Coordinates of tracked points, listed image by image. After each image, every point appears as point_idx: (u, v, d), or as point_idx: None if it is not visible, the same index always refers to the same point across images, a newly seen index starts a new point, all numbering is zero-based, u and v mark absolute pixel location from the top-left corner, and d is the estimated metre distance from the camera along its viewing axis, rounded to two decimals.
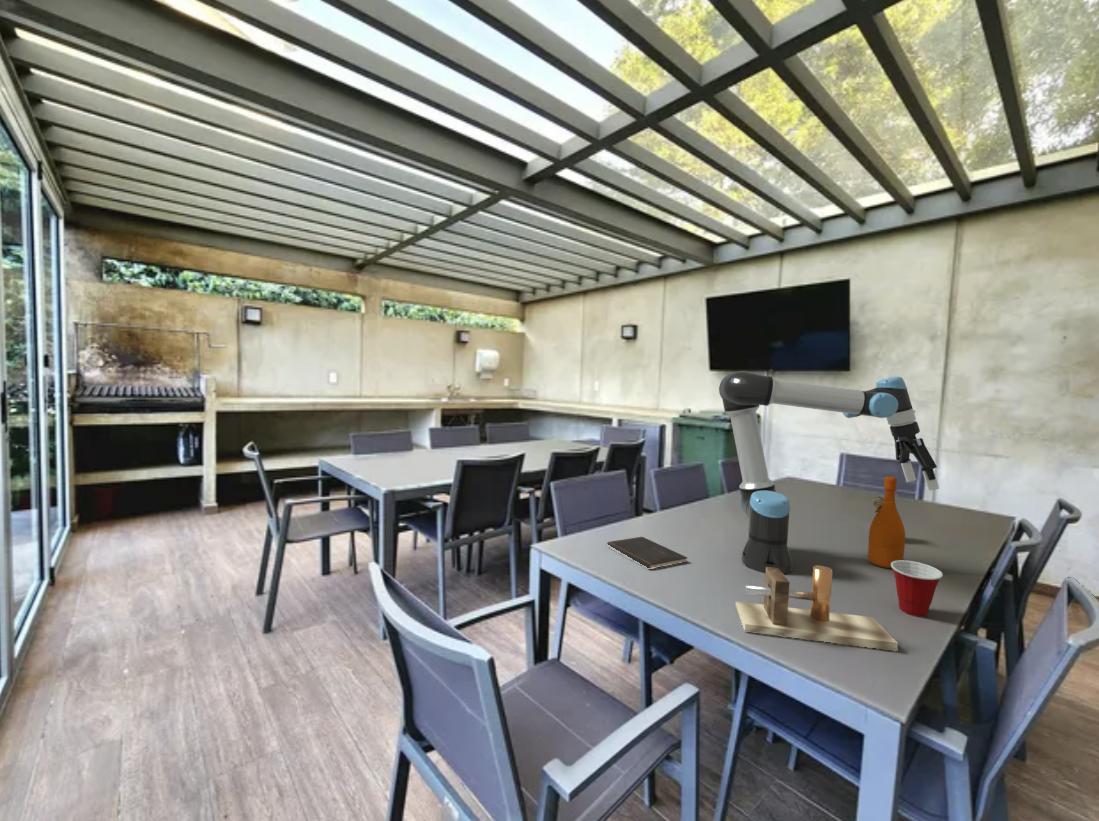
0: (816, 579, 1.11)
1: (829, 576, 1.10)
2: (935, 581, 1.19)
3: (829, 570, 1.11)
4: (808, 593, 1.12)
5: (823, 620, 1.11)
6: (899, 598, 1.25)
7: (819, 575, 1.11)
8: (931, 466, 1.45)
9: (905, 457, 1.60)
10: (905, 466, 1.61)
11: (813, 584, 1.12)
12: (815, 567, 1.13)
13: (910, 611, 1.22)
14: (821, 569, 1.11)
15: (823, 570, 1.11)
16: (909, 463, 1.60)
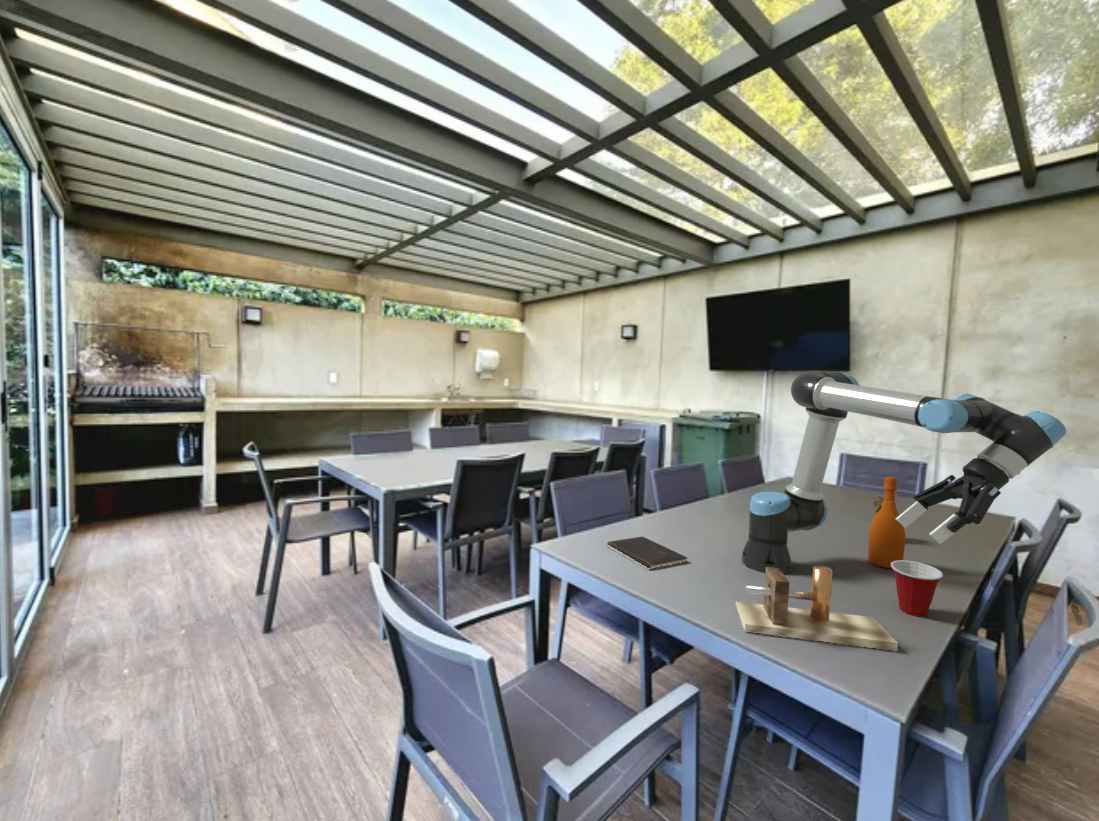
0: (816, 579, 1.11)
1: (829, 576, 1.10)
2: (935, 581, 1.19)
3: (829, 570, 1.11)
4: (808, 593, 1.12)
5: (823, 620, 1.11)
6: (899, 598, 1.25)
7: (819, 575, 1.11)
8: (975, 517, 0.98)
9: (931, 500, 1.13)
10: (917, 507, 1.15)
11: (813, 584, 1.12)
12: (815, 567, 1.13)
13: (910, 611, 1.22)
14: (821, 569, 1.11)
15: (823, 570, 1.11)
16: (924, 509, 1.14)
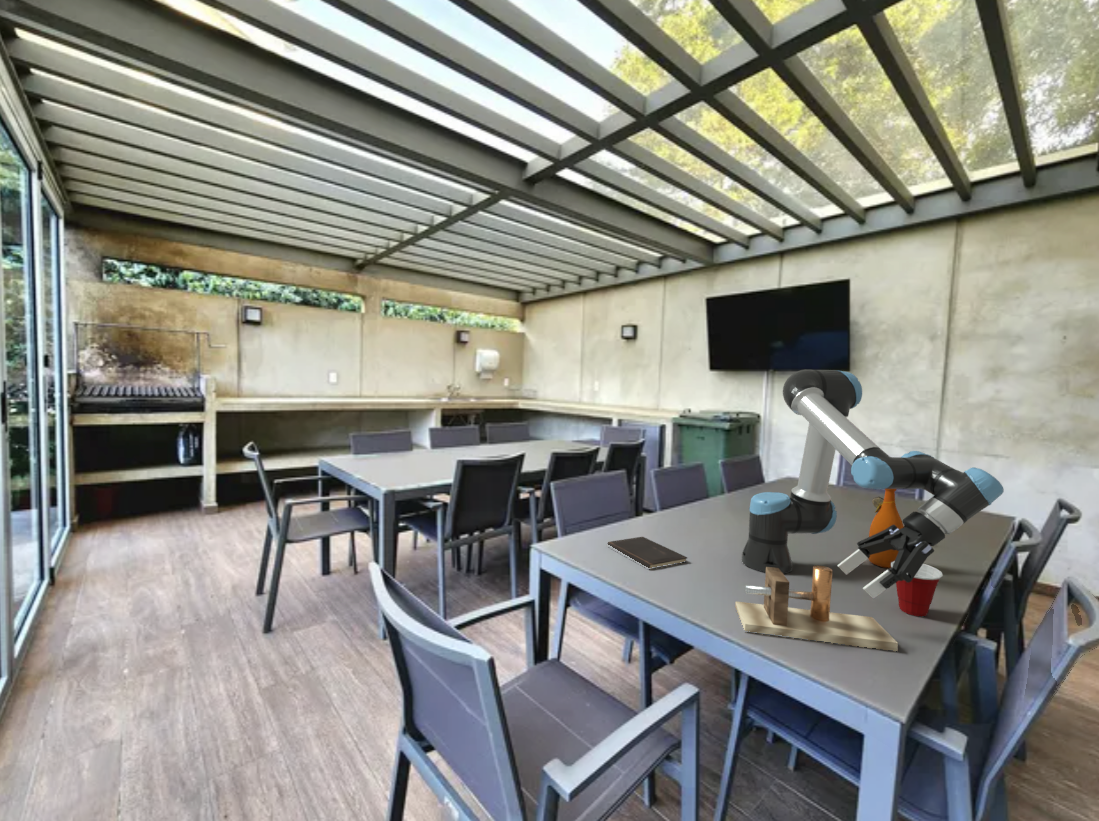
0: (816, 579, 1.11)
1: (829, 576, 1.10)
2: (935, 581, 1.19)
3: (829, 570, 1.11)
4: (808, 593, 1.12)
5: (823, 620, 1.11)
6: (899, 598, 1.25)
7: (819, 575, 1.11)
8: (906, 576, 0.99)
9: (872, 549, 1.14)
10: (858, 555, 1.15)
11: (813, 584, 1.12)
12: (815, 567, 1.13)
13: (910, 611, 1.22)
14: (821, 569, 1.11)
15: (823, 570, 1.11)
16: (865, 557, 1.15)
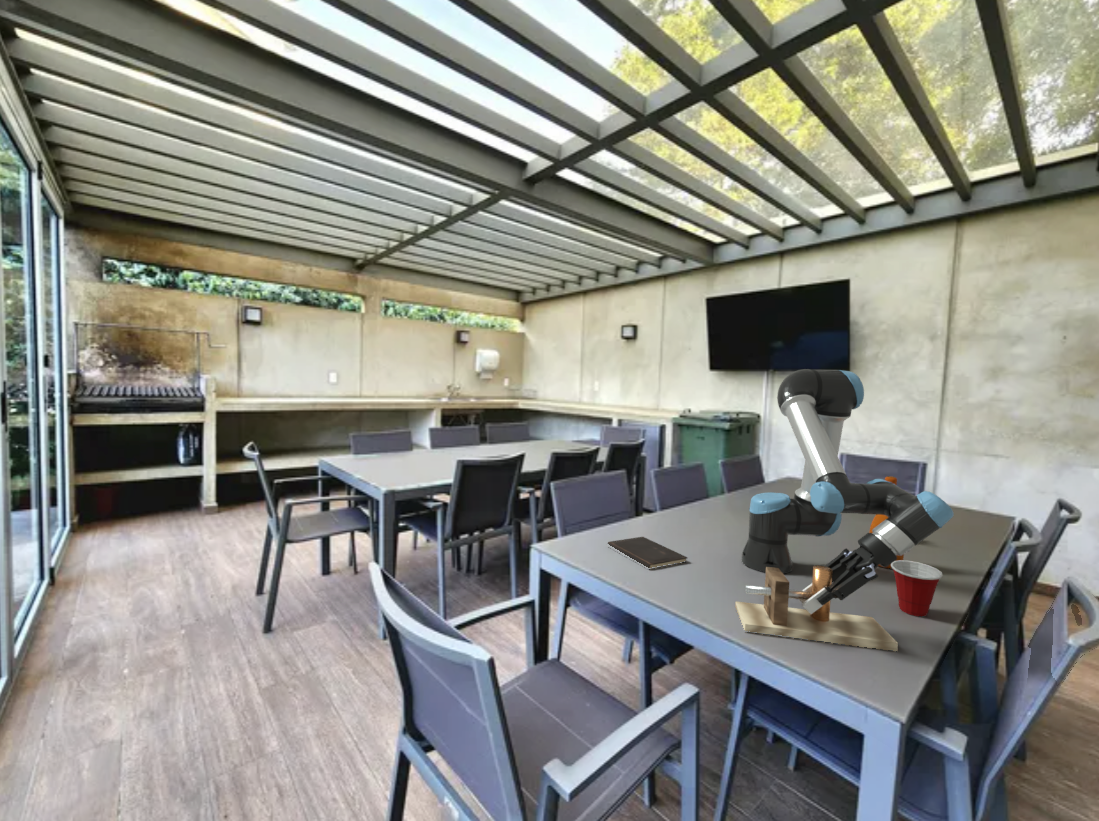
0: (816, 579, 1.11)
1: (829, 576, 1.10)
2: (935, 581, 1.19)
3: (829, 570, 1.11)
4: (808, 593, 1.12)
5: (823, 620, 1.11)
6: (899, 598, 1.25)
7: (819, 575, 1.11)
8: (838, 594, 1.07)
9: None
10: None
11: (813, 584, 1.12)
12: (815, 567, 1.13)
13: (910, 611, 1.22)
14: (821, 569, 1.11)
15: (823, 570, 1.11)
16: None
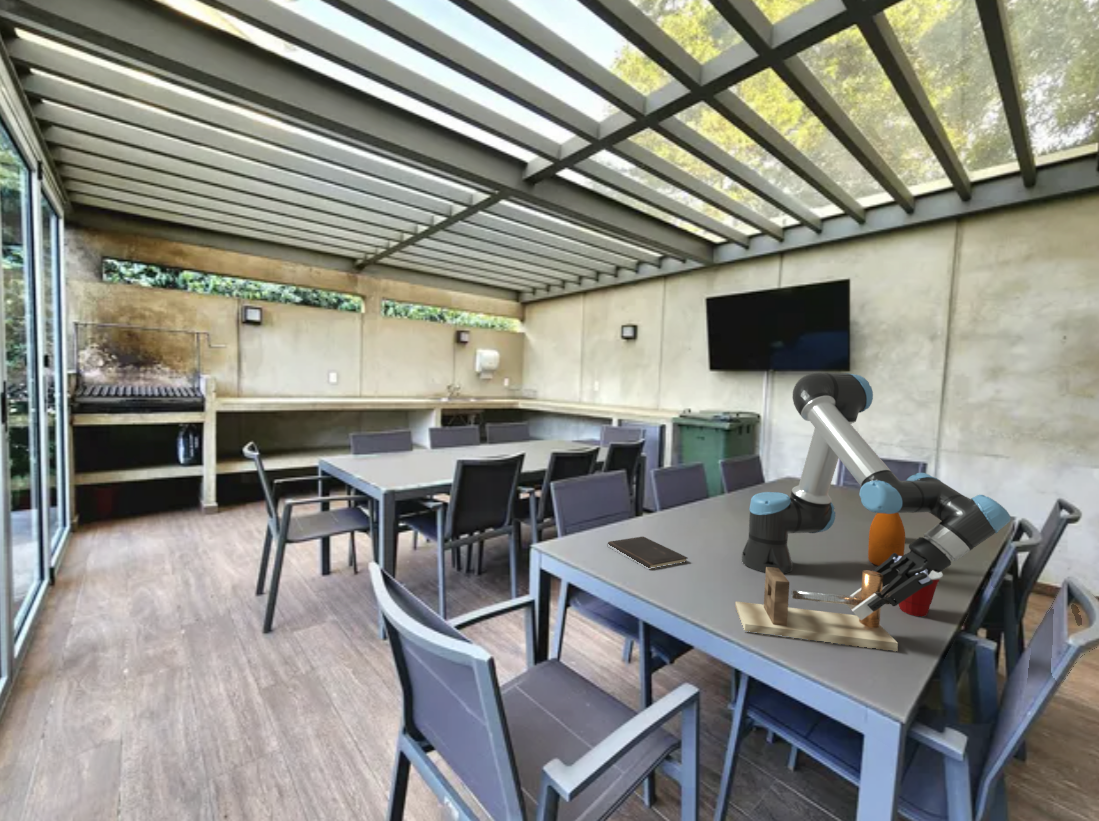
0: (866, 584, 1.09)
1: (880, 581, 1.08)
2: (935, 581, 1.19)
3: (880, 575, 1.09)
4: (857, 598, 1.10)
5: (874, 626, 1.09)
6: None
7: (869, 580, 1.09)
8: (891, 601, 1.04)
9: None
10: None
11: (863, 589, 1.10)
12: (865, 572, 1.11)
13: (910, 611, 1.22)
14: (871, 574, 1.09)
15: (873, 575, 1.09)
16: None
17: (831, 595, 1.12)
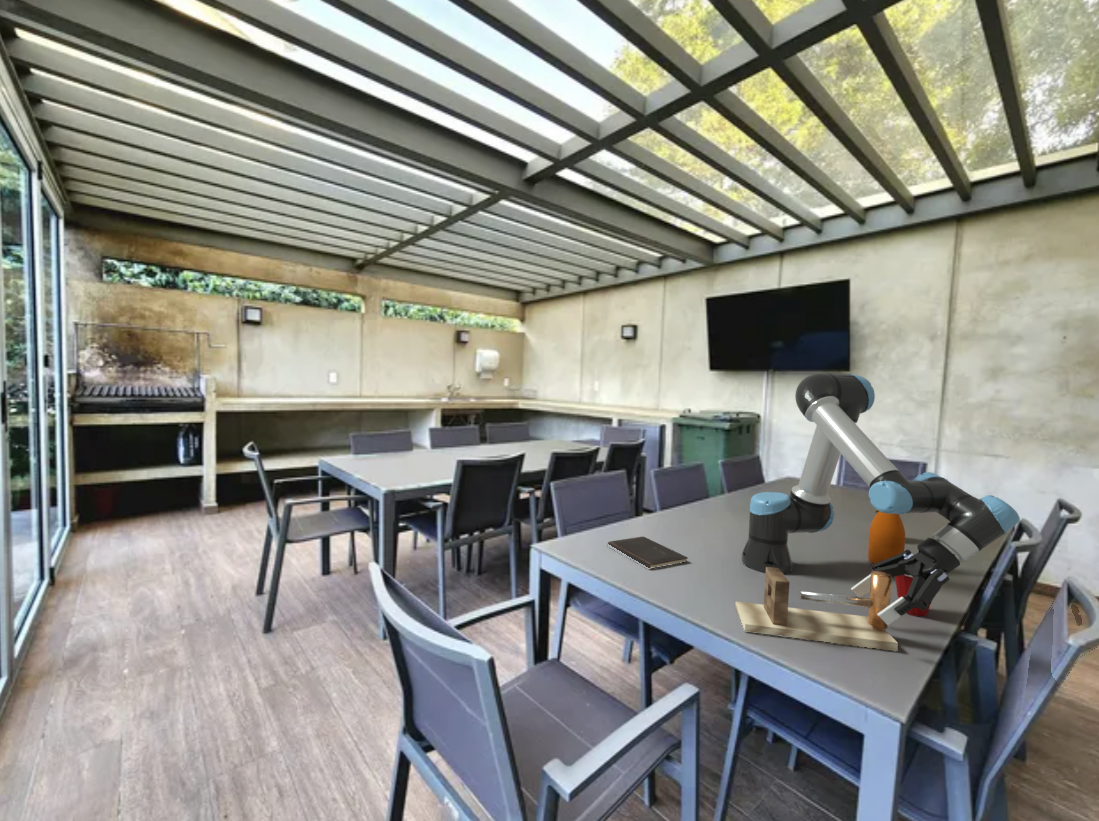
0: (875, 585, 1.09)
1: (889, 582, 1.08)
2: None
3: (888, 576, 1.09)
4: (866, 599, 1.10)
5: (882, 627, 1.08)
6: None
7: (878, 581, 1.08)
8: (921, 604, 0.99)
9: None
10: None
11: (871, 590, 1.10)
12: (873, 573, 1.10)
13: (910, 611, 1.22)
14: (880, 575, 1.09)
15: (882, 576, 1.09)
16: None
17: (839, 596, 1.11)
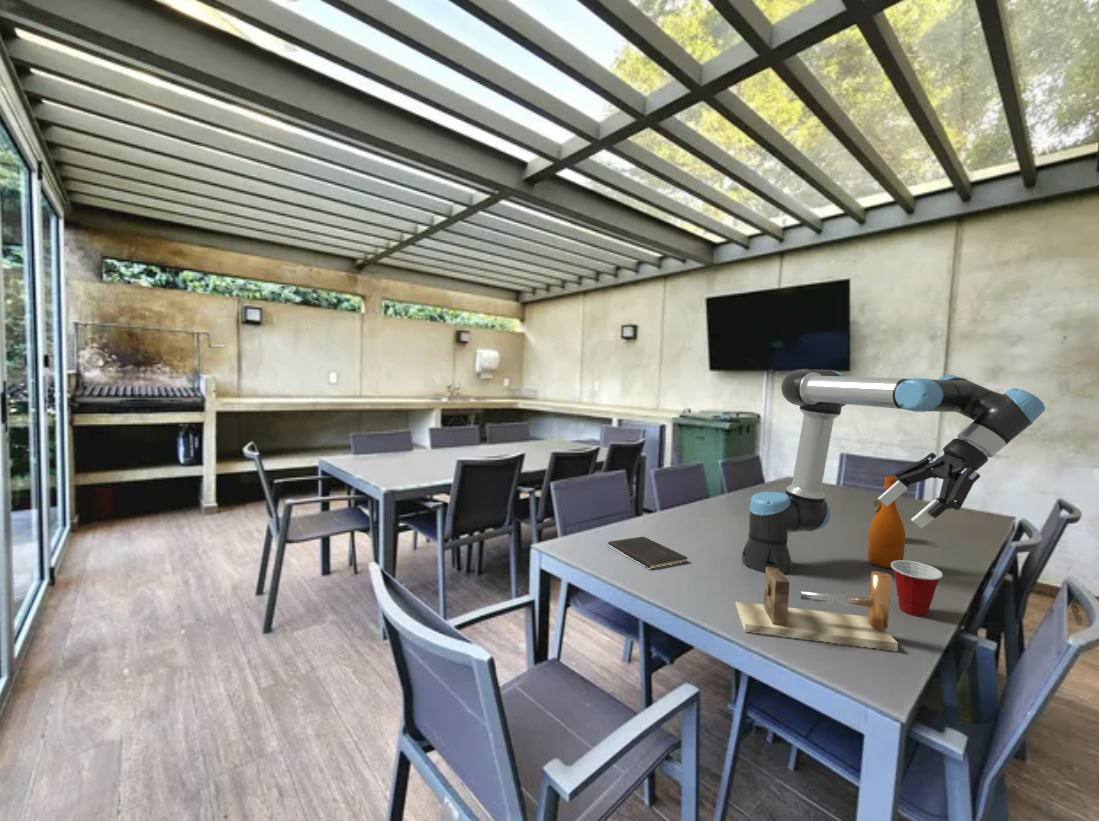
0: (875, 585, 1.09)
1: (889, 582, 1.08)
2: (935, 581, 1.19)
3: (888, 576, 1.09)
4: (866, 599, 1.10)
5: (882, 627, 1.08)
6: (899, 598, 1.25)
7: (878, 581, 1.08)
8: (955, 504, 1.00)
9: (912, 479, 1.15)
10: (898, 486, 1.17)
11: (871, 590, 1.10)
12: (873, 573, 1.10)
13: (910, 611, 1.22)
14: (880, 575, 1.09)
15: (882, 576, 1.09)
16: (905, 488, 1.17)
17: (839, 596, 1.11)
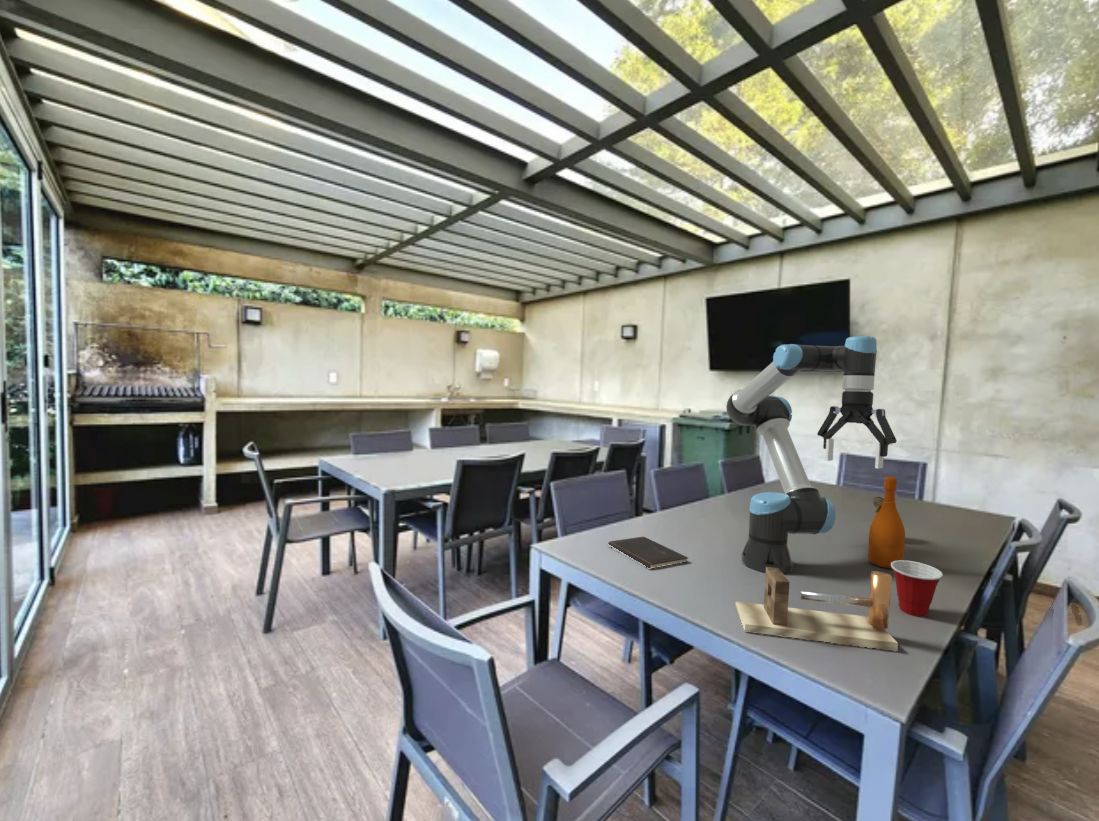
0: (875, 585, 1.09)
1: (889, 582, 1.08)
2: (935, 581, 1.19)
3: (888, 576, 1.09)
4: (866, 599, 1.10)
5: (882, 627, 1.08)
6: (899, 598, 1.25)
7: (878, 581, 1.08)
8: (894, 440, 1.27)
9: (834, 432, 1.40)
10: (830, 442, 1.41)
11: (871, 590, 1.10)
12: (873, 573, 1.10)
13: (910, 611, 1.22)
14: (880, 575, 1.09)
15: (882, 576, 1.09)
16: (833, 440, 1.42)
17: (839, 596, 1.11)
